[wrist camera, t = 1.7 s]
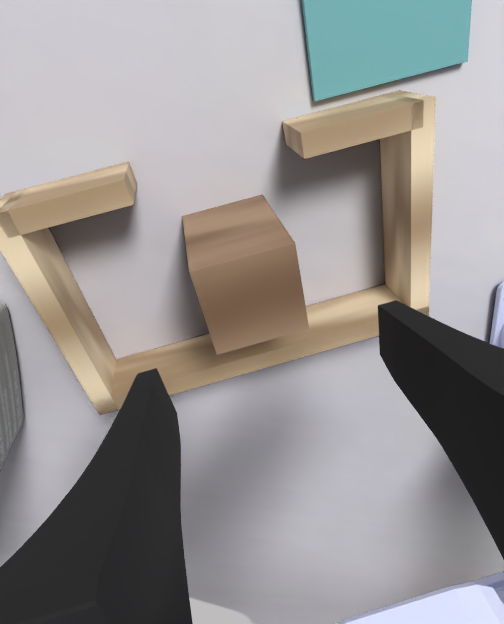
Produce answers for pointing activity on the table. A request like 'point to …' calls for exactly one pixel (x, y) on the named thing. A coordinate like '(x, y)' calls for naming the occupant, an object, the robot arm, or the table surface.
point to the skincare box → (8, 387)
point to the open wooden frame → (200, 350)
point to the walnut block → (244, 274)
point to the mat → (381, 41)
